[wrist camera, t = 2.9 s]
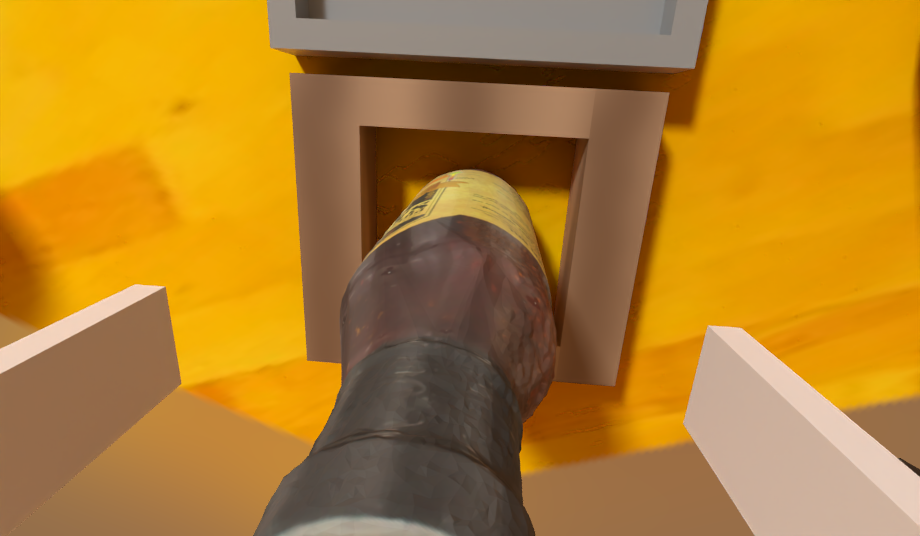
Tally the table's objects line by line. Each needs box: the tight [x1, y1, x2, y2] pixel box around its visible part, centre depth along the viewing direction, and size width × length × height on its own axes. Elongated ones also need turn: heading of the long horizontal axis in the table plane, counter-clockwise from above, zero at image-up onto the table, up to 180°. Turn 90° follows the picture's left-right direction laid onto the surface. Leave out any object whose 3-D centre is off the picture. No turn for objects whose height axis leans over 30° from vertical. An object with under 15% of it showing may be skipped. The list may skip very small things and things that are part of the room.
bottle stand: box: [290, 73, 669, 386], centre depth 23 cm, size 16×14×3 cm
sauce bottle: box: [253, 168, 557, 536], centre depth 15 cm, size 6×6×20 cm
